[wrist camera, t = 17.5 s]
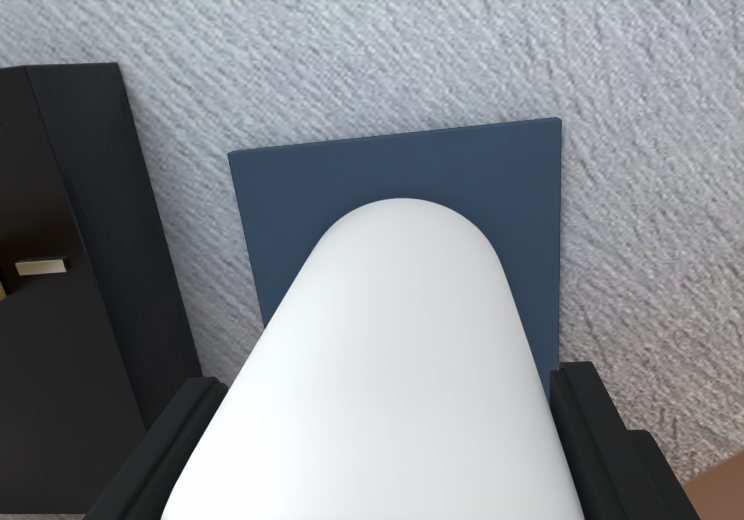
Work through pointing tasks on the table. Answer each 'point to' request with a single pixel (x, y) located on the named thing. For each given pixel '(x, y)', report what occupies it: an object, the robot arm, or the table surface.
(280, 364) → the can
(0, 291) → the manila folder box
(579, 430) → the robot arm
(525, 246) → the mat
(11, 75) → the black box
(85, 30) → the table surface
